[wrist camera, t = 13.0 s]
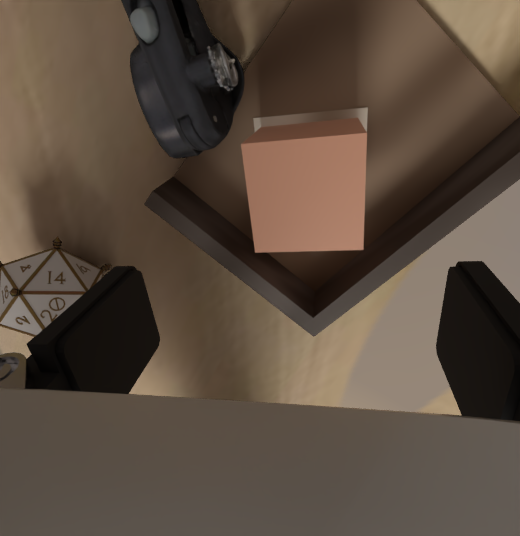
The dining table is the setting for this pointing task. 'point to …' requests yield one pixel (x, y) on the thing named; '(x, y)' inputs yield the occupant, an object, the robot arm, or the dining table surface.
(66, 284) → the game die
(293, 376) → the dining table surface
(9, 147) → the dining table surface
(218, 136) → the can opener
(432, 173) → the tray
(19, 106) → the dining table surface
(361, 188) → the cube
